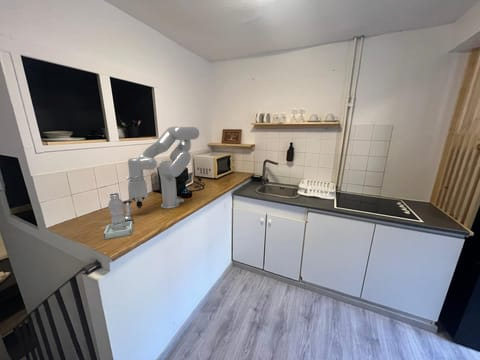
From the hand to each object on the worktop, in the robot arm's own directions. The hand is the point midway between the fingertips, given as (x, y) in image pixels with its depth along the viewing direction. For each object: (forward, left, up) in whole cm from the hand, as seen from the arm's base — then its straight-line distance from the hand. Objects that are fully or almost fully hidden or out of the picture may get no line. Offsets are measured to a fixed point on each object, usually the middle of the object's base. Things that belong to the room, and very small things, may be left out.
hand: (139, 207), depth 124 cm
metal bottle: (+9, +20, -4) cm, 22 cm away
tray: (+9, +20, -5) cm, 23 cm away
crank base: (+11, +11, -5) cm, 16 cm away
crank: (+6, +6, -3) cm, 9 cm away
